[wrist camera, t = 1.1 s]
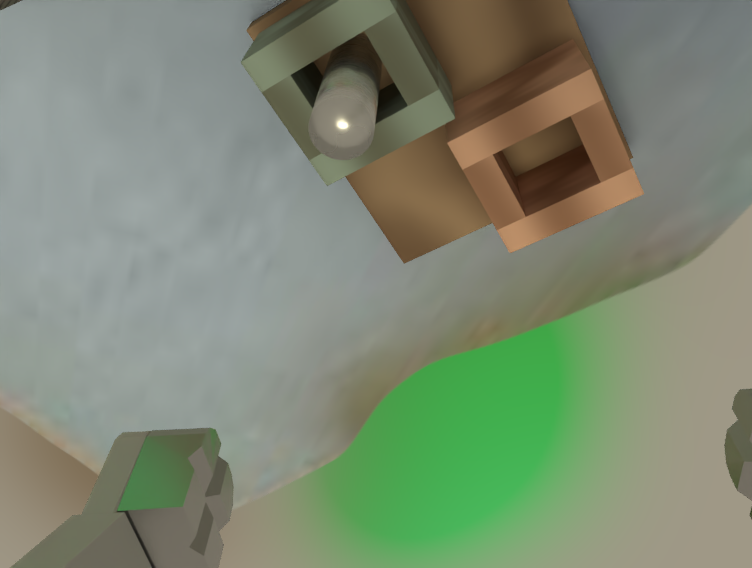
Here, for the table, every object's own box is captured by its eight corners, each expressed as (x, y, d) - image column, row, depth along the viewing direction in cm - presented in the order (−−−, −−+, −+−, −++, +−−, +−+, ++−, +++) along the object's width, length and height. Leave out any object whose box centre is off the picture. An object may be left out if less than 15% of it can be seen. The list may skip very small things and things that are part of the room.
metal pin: (365, 22, 39) (351, 85, 31) (392, 69, 40) (386, 141, 32) (320, 49, 40) (295, 118, 32) (348, 94, 41) (331, 170, 33)
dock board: (505, -142, 35) (521, -129, 30) (627, 147, 44) (655, 197, 39) (251, 22, 41) (226, 58, 35) (404, 251, 49) (403, 307, 44)
